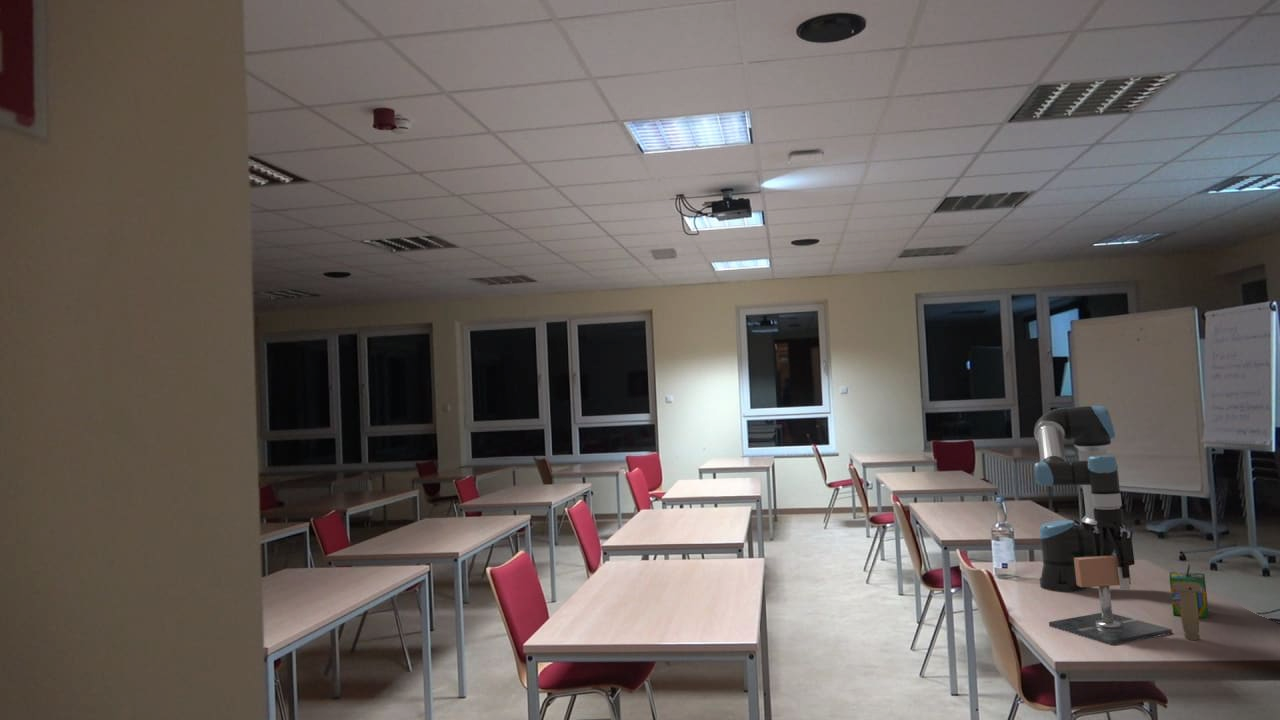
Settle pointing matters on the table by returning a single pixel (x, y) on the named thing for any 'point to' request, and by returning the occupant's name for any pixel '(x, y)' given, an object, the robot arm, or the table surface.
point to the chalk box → (1199, 595)
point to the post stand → (1109, 624)
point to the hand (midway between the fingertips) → (1117, 587)
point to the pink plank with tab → (1097, 571)
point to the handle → (1188, 608)
